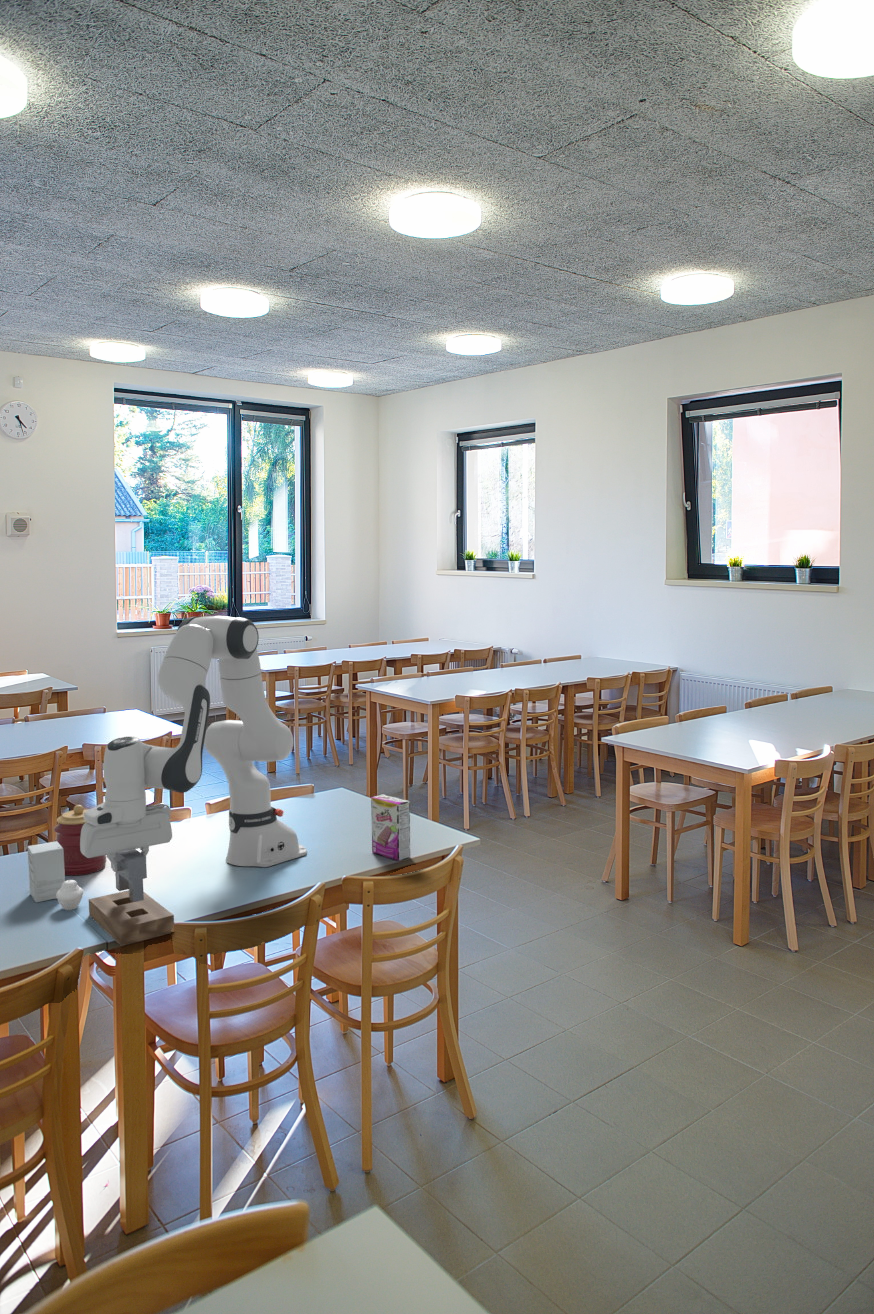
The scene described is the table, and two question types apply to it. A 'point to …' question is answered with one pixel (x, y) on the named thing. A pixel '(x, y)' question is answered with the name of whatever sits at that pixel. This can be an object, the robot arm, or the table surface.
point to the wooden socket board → (130, 917)
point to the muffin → (69, 895)
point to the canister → (75, 844)
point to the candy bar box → (390, 827)
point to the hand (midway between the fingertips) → (128, 868)
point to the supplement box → (45, 870)
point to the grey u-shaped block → (131, 873)
